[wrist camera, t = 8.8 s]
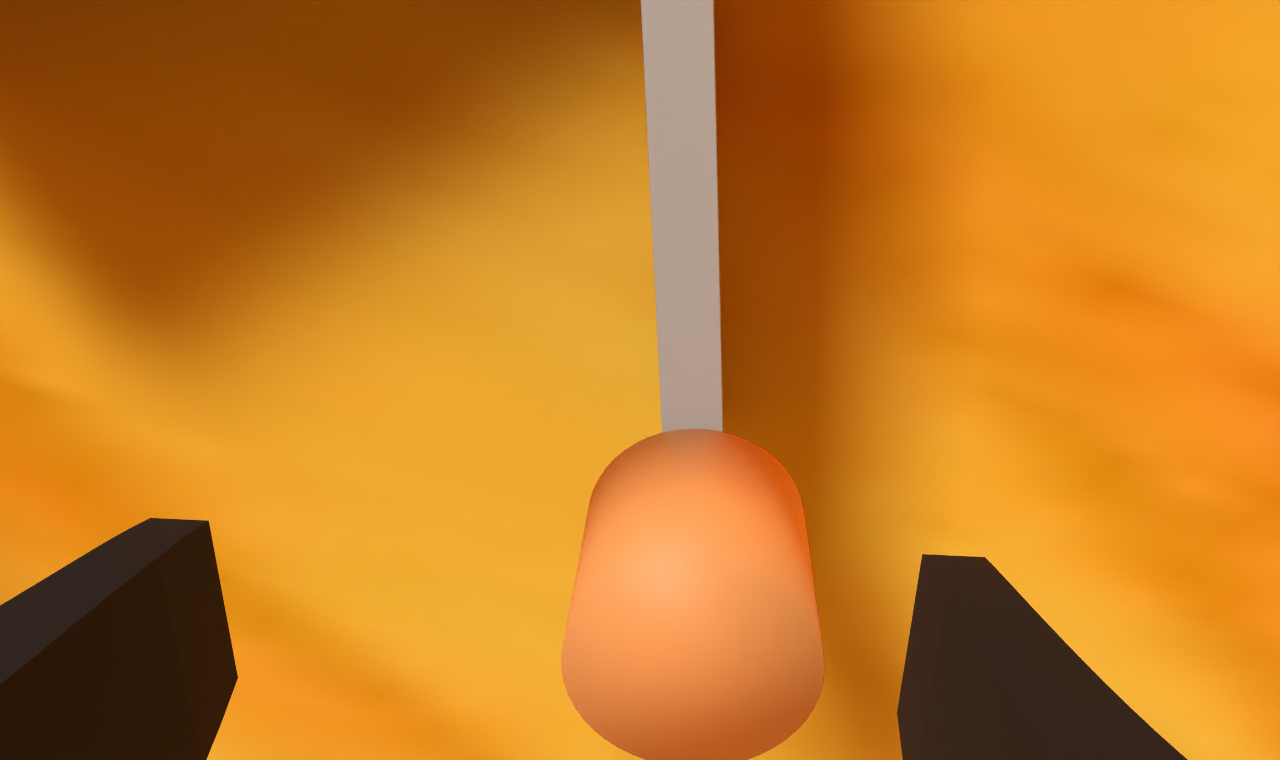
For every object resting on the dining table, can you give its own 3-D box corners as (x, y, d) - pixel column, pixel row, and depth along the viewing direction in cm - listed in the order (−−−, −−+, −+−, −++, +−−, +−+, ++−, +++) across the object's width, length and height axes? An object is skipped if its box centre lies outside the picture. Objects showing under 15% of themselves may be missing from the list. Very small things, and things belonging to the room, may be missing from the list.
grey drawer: (780, 437, 21) (820, 798, 13) (626, 440, 22) (575, 797, 13) (783, -535, 15) (870, -992, 7) (563, -518, 15) (388, -936, 7)
